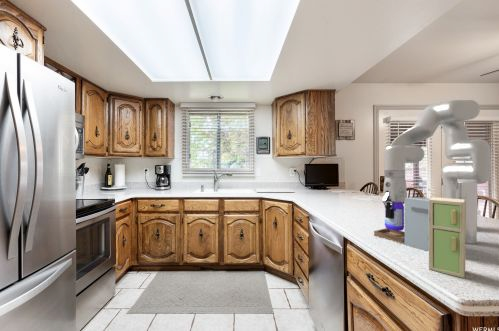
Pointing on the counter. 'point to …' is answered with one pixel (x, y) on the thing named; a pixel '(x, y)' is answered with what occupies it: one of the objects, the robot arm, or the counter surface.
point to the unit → (417, 222)
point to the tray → (390, 235)
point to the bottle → (396, 218)
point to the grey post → (468, 207)
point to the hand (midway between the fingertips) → (394, 216)
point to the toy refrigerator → (447, 236)
